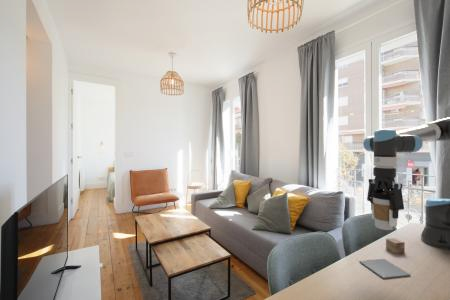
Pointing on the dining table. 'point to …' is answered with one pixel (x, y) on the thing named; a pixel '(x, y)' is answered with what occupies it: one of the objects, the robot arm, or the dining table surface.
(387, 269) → the slate coaster
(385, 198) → the coffee cup
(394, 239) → the walnut block
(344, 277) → the dining table surface
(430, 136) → the robot arm
